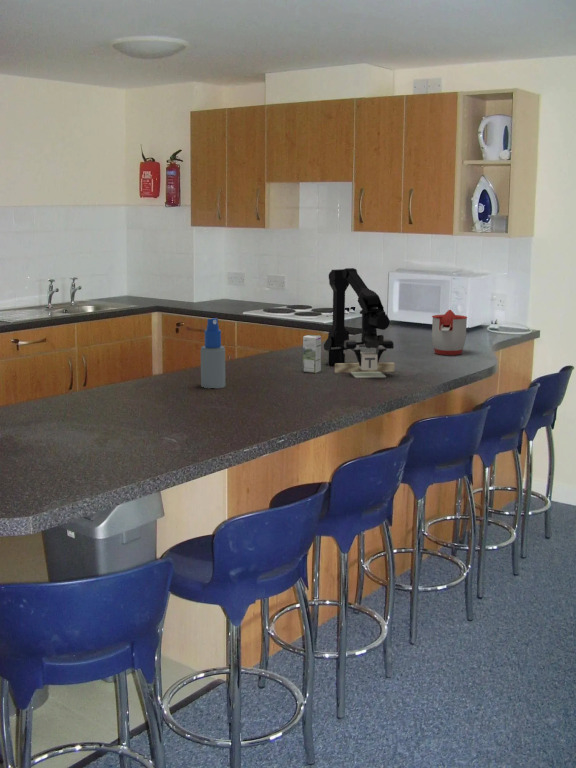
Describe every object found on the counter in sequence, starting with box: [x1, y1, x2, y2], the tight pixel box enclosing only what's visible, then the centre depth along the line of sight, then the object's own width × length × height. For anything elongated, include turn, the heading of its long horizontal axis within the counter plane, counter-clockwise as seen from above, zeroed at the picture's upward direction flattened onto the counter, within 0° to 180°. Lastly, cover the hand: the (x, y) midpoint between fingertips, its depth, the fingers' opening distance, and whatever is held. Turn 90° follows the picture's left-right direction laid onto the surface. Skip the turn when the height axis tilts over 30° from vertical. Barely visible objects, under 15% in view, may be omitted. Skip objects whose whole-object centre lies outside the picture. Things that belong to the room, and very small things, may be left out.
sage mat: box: [350, 372, 387, 379], centre depth 344 cm, size 12×10×1 cm
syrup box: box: [302, 334, 322, 374], centre depth 350 cm, size 6×6×14 cm
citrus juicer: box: [431, 309, 468, 357], centre depth 393 cm, size 16×17×20 cm
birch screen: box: [334, 362, 396, 374], centre depth 351 cm, size 24×2×4 cm, turn 96°
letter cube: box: [359, 351, 378, 370], centre depth 343 cm, size 6×6×6 cm
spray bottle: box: [200, 317, 226, 389], centre depth 319 cm, size 9×9×25 cm
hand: (368, 366), depth 344 cm, fingers closed on letter cube, 6 cm apart
